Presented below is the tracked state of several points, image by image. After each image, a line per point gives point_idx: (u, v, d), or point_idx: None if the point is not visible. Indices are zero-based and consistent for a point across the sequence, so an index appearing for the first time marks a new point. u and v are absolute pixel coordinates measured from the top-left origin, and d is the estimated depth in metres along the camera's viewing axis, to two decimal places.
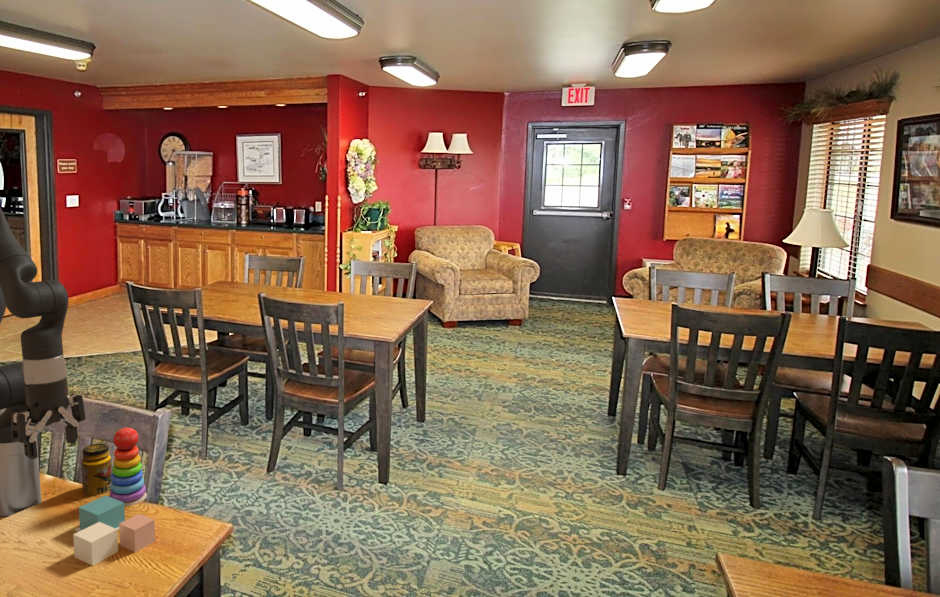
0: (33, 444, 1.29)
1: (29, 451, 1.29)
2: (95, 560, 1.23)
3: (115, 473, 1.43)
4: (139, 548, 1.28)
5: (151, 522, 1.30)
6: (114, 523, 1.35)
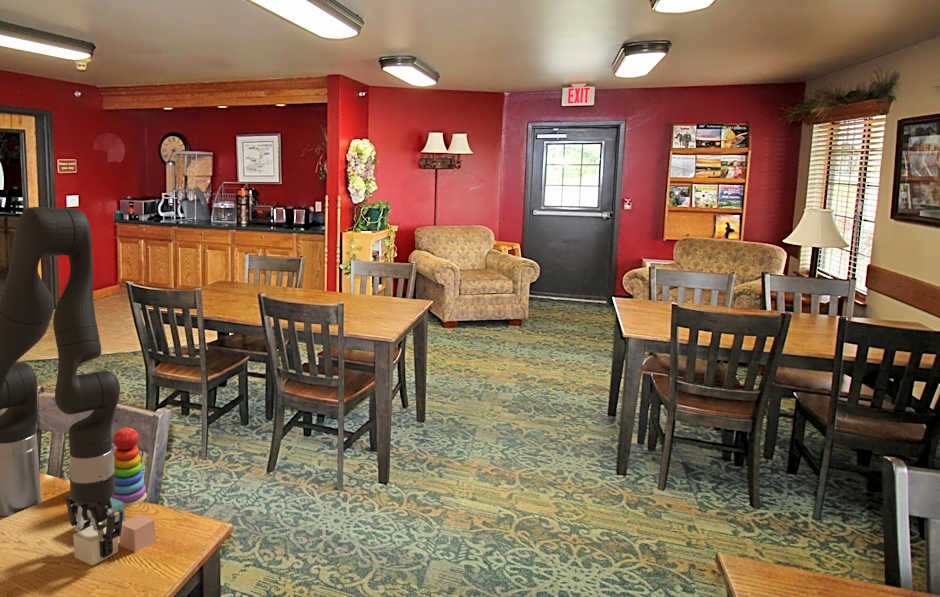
0: None
1: None
2: (95, 560, 1.23)
3: (115, 473, 1.43)
4: (139, 548, 1.28)
5: (151, 522, 1.30)
6: None
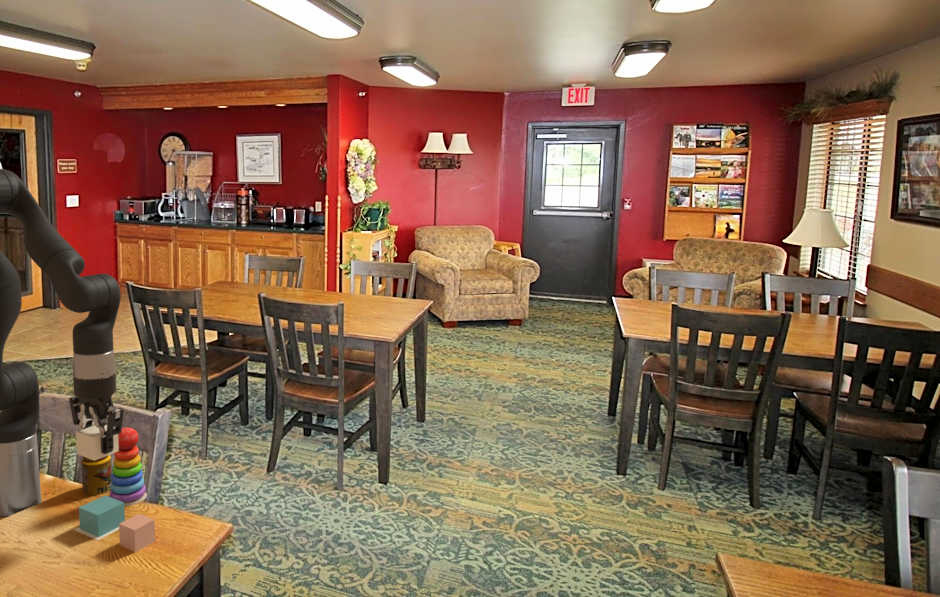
0: None
1: None
2: (96, 455, 1.29)
3: (115, 473, 1.43)
4: (139, 548, 1.28)
5: (151, 522, 1.30)
6: (114, 523, 1.35)
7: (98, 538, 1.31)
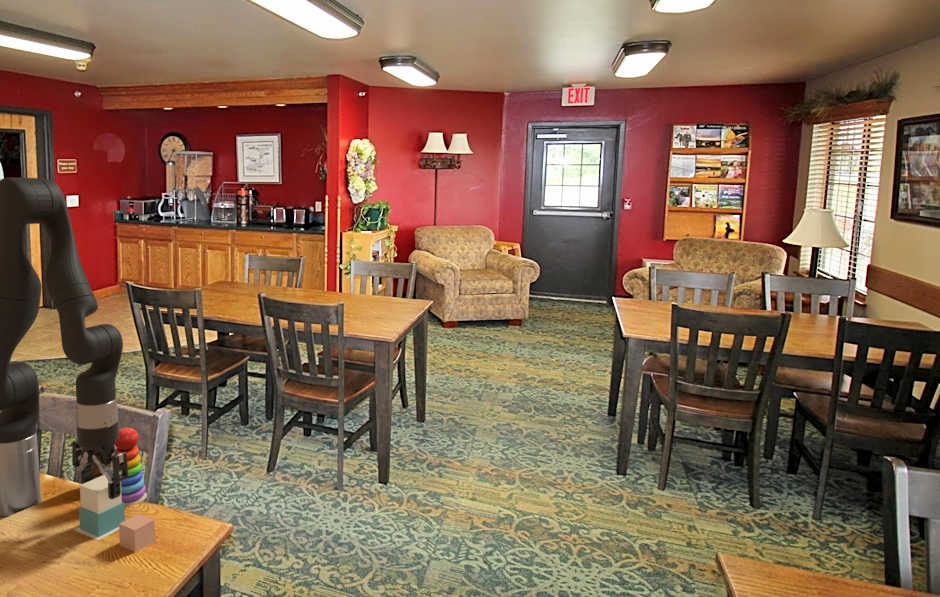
0: None
1: None
2: (100, 508, 1.32)
3: None
4: (139, 548, 1.28)
5: (151, 522, 1.30)
6: (114, 523, 1.35)
7: (98, 538, 1.31)
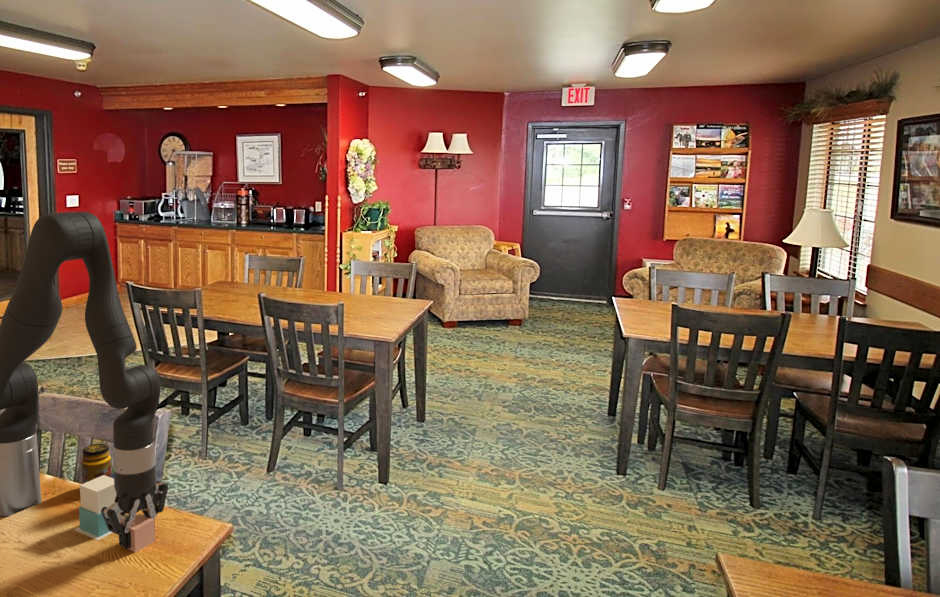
0: None
1: None
2: (100, 508, 1.32)
3: None
4: (139, 548, 1.28)
5: (151, 522, 1.30)
6: None
7: (98, 538, 1.31)
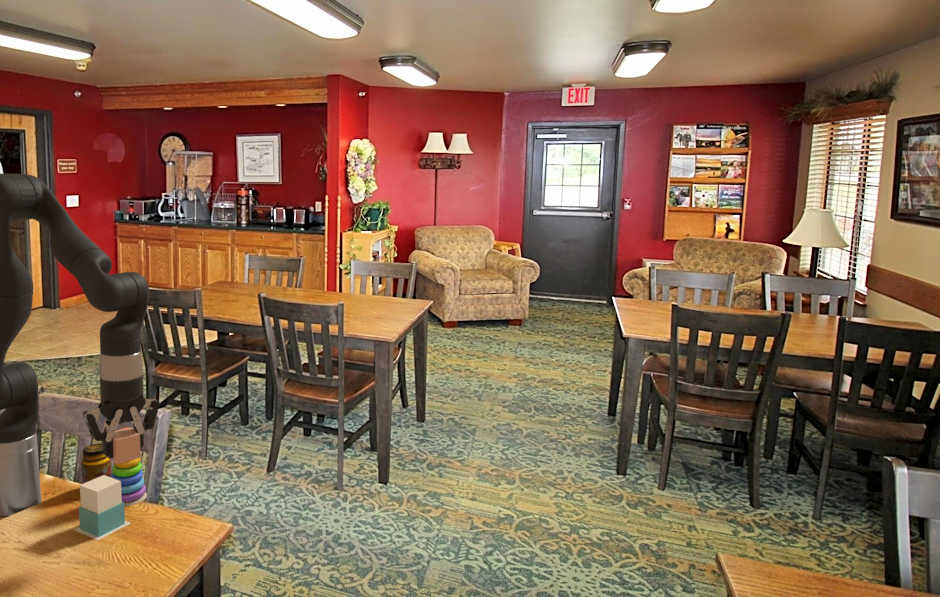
0: None
1: None
2: (100, 508, 1.32)
3: (115, 473, 1.43)
4: (120, 460, 1.25)
5: (136, 436, 1.27)
6: (114, 523, 1.35)
7: (98, 538, 1.31)
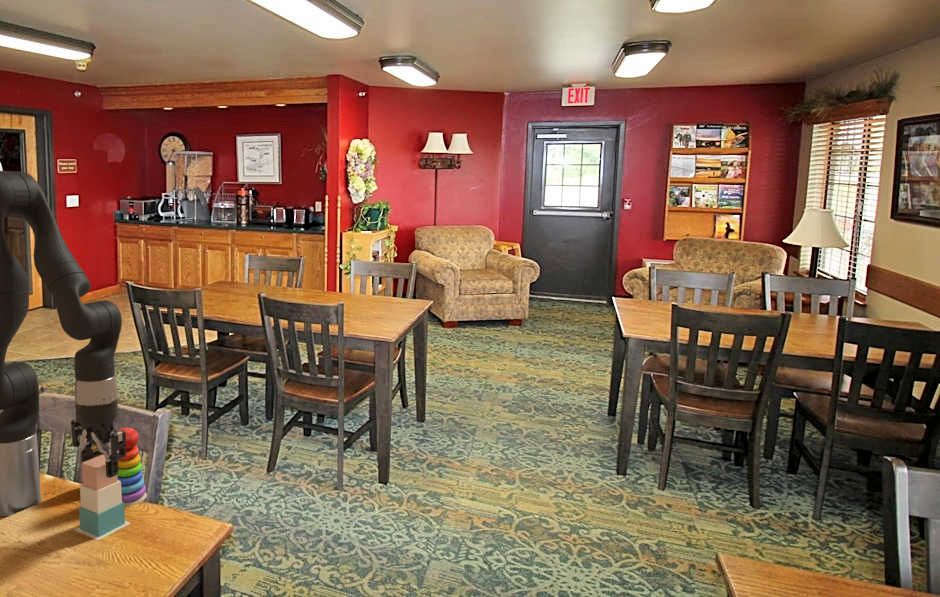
0: (116, 460, 1.32)
1: None
2: (100, 508, 1.32)
3: None
4: (85, 484, 1.32)
5: (93, 468, 1.30)
6: (114, 523, 1.35)
7: (98, 538, 1.31)
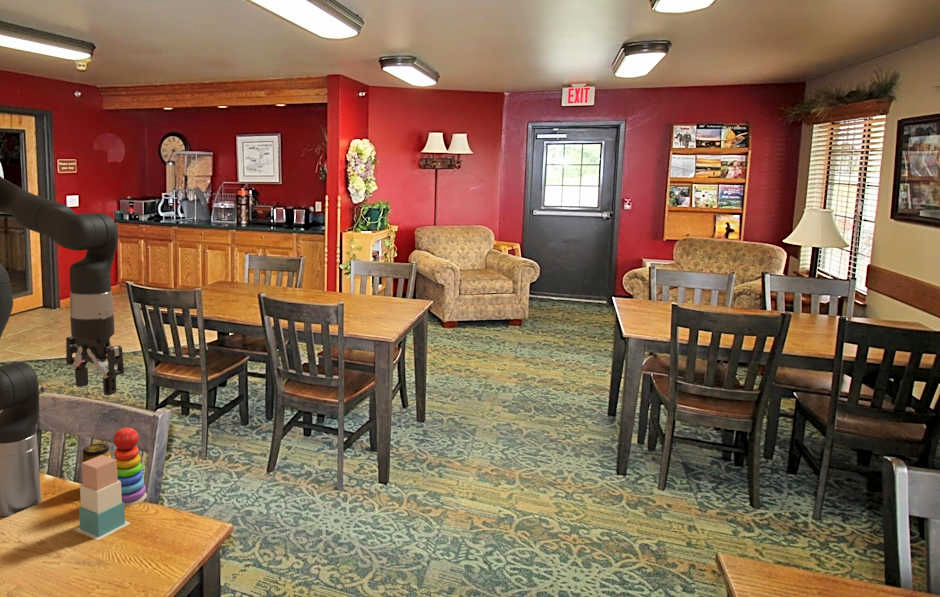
0: None
1: None
2: (100, 508, 1.32)
3: None
4: (85, 484, 1.32)
5: (93, 468, 1.30)
6: (114, 523, 1.35)
7: (98, 538, 1.31)
